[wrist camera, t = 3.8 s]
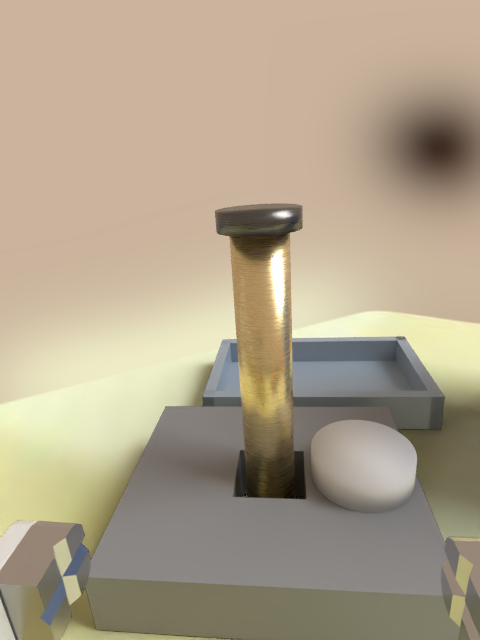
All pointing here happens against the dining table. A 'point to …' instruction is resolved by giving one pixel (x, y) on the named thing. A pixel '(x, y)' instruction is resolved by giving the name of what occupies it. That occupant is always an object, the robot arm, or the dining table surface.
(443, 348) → the dining table surface
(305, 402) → the tray
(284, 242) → the lock pin
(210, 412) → the block
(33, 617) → the robot arm
